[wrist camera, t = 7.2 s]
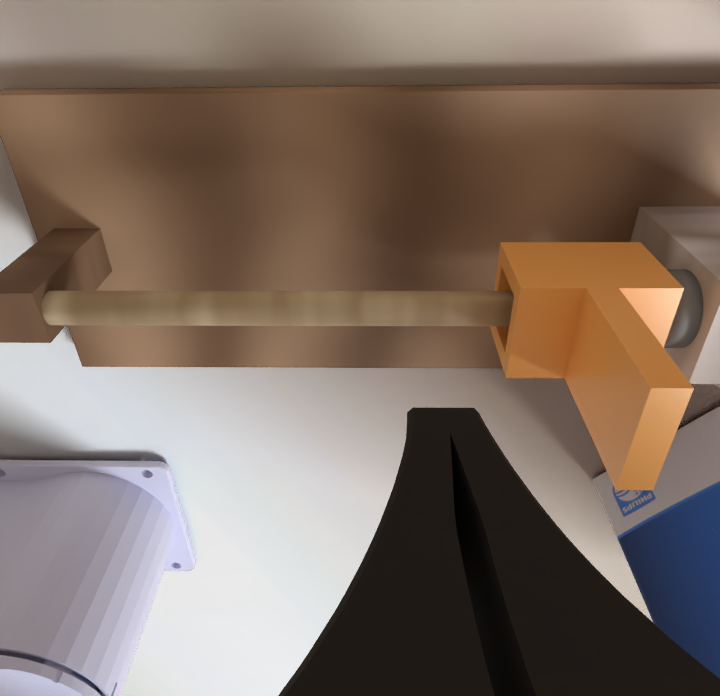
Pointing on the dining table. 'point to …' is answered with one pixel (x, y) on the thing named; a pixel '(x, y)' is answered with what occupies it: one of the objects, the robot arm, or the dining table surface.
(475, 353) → the cord rail
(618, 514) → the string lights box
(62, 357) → the dining table surface
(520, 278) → the orange plastic bracket
